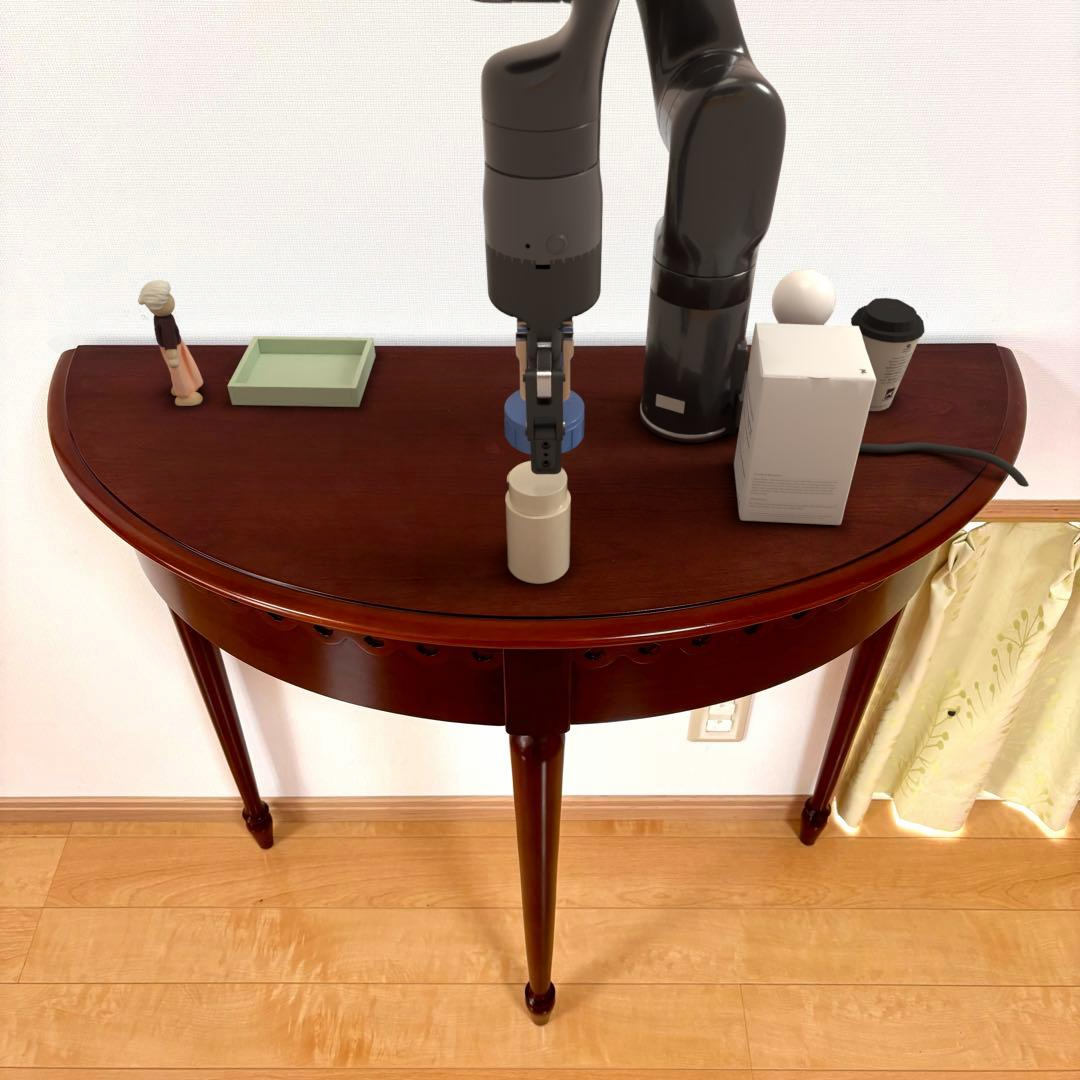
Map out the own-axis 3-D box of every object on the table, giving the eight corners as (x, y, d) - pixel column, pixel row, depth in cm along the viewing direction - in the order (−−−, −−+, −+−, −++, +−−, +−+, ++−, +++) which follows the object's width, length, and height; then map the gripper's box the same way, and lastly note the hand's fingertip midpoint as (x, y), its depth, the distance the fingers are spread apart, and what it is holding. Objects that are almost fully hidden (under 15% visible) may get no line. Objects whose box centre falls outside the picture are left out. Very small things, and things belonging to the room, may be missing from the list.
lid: (503, 456, 69) (502, 428, 68) (507, 411, 74) (506, 384, 72) (584, 456, 69) (584, 429, 68) (583, 411, 74) (584, 384, 72)
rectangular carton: (829, 466, 90) (863, 323, 80) (842, 527, 84) (881, 379, 74) (731, 461, 91) (753, 318, 81) (736, 521, 84) (761, 374, 74)
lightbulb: (749, 359, 105) (764, 265, 98) (798, 347, 107) (816, 254, 100) (782, 388, 101) (800, 291, 93) (832, 375, 102) (854, 279, 95)
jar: (569, 542, 82) (571, 457, 76) (569, 584, 78) (571, 498, 73) (509, 541, 83) (506, 457, 77) (506, 583, 79) (502, 498, 73)
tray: (375, 356, 106) (373, 337, 105) (359, 407, 98) (356, 388, 97) (257, 354, 106) (253, 335, 105) (232, 405, 99) (227, 386, 97)
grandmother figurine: (217, 403, 99) (186, 290, 91) (180, 415, 97) (146, 301, 89) (192, 371, 104) (160, 261, 95) (157, 382, 102) (121, 271, 94)
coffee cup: (909, 419, 96) (936, 330, 89) (838, 416, 97) (859, 327, 90) (896, 382, 101) (920, 295, 95) (829, 379, 102) (848, 292, 95)
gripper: (490, 187, 67) (501, 394, 78) (477, 282, 56) (492, 506, 67) (598, 186, 66) (593, 393, 77) (606, 280, 56) (600, 506, 67)
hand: (546, 445), depth 72 cm, fingers closed on lid, 5 cm apart
